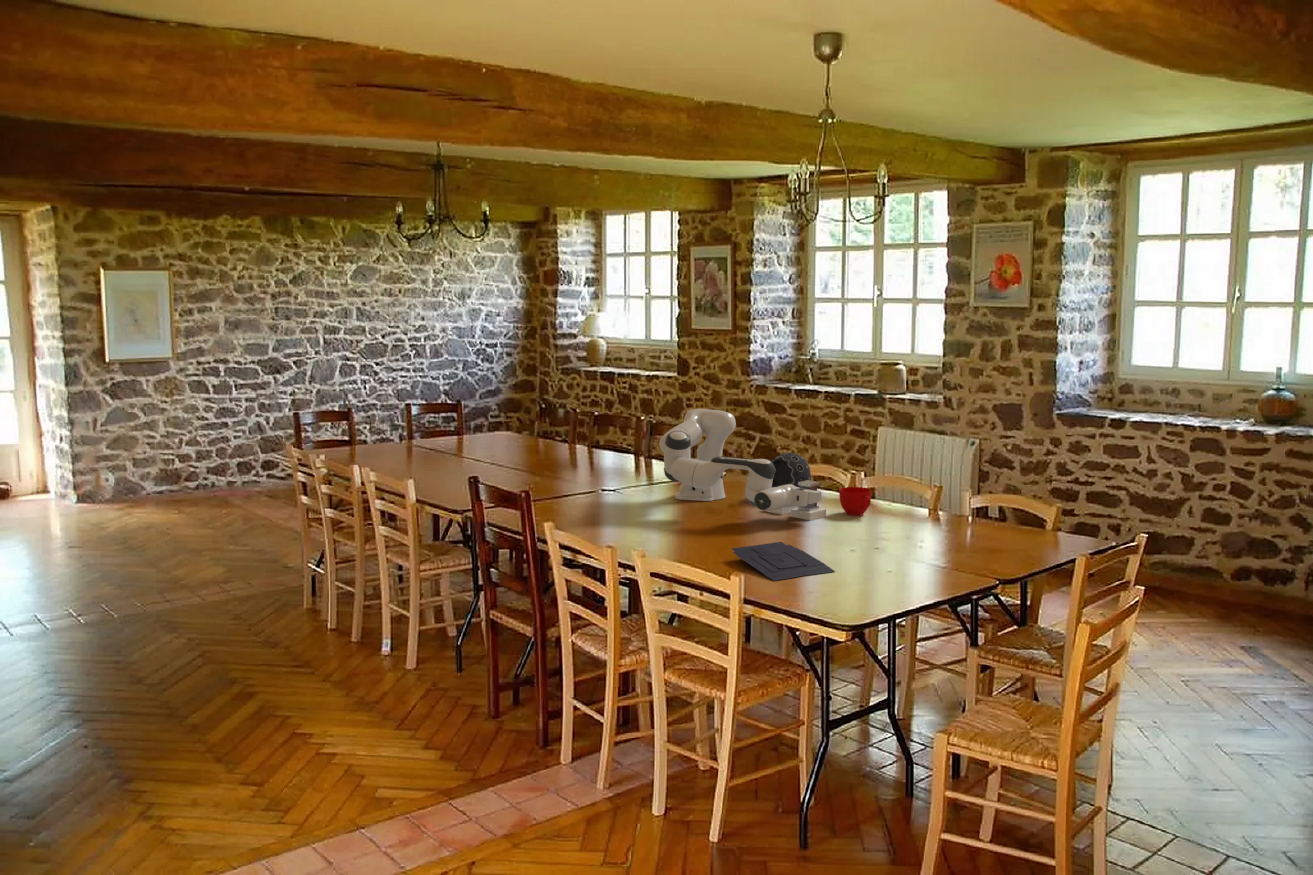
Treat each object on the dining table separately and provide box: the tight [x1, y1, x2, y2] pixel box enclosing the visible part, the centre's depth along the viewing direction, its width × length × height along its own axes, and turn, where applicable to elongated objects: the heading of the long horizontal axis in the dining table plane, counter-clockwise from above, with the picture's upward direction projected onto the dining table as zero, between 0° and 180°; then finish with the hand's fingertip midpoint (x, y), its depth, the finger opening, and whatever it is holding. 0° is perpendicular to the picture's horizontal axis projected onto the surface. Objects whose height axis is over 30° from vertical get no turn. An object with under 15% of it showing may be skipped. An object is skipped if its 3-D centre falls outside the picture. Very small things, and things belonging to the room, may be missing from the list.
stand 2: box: [790, 507, 827, 521], centre depth 424 cm, size 10×10×3 cm
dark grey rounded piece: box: [771, 452, 812, 488], centre depth 459 cm, size 11×20×20 cm, turn 31°
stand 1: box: [766, 506, 798, 515], centre depth 435 cm, size 10×10×3 cm
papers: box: [730, 541, 836, 582], centre depth 350 cm, size 24×30×4 cm
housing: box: [798, 480, 820, 512], centre depth 423 cm, size 6×6×11 cm
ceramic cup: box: [838, 486, 872, 517], centre depth 426 cm, size 13×17×10 cm
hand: (810, 490), depth 423 cm, fingers open, 8 cm apart
